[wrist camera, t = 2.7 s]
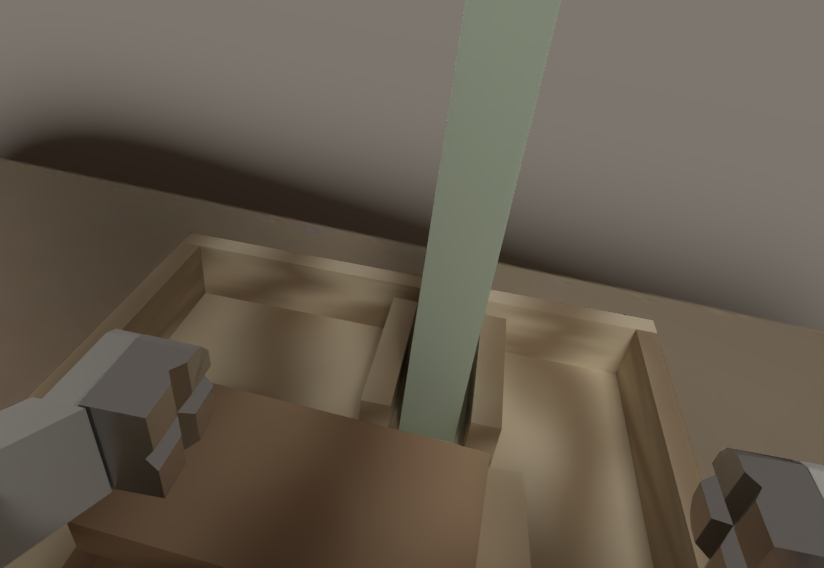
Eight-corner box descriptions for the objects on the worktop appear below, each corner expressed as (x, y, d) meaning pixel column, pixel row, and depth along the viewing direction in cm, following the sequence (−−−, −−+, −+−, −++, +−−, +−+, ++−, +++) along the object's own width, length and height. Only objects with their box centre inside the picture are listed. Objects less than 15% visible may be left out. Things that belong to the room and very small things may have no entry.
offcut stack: (45, 633, 17) (2, 557, 14) (168, 443, 23) (152, 366, 20) (515, 747, 16) (554, 686, 13) (517, 518, 22) (545, 448, 19)
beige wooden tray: (-134, 714, 16) (-217, 643, 13) (199, 300, 32) (190, 232, 30) (736, 938, 14) (832, 907, 12) (623, 384, 31) (653, 320, 28)
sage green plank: (398, 430, 24) (473, -50, 14) (416, 354, 28) (484, -61, 18) (453, 442, 24) (569, -35, 14) (463, 363, 28) (559, -50, 18)
